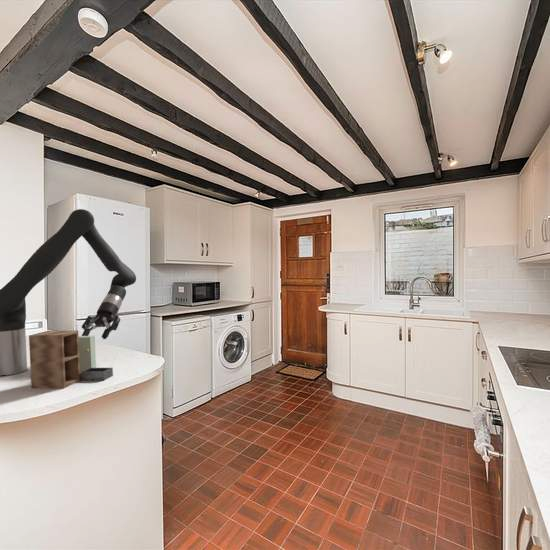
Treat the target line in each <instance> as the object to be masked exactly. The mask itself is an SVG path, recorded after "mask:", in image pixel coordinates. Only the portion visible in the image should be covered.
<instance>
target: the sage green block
mask: <svg viewBox="0 0 550 550" xmlns="http://www.w3.org/2000/svg"><path fill="white" fill-rule="evenodd" d="M79 357H80V373H81V372H83V371H85V370H87V369H89V368H97V361H96V357H97V356H96V337H95V335H88V336H82V335H79Z"/></svg>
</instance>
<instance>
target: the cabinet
mask: <svg viewBox="0 0 550 550" xmlns="http://www.w3.org/2000/svg"><path fill="white" fill-rule="evenodd" d="M79 336H80V334H79V330H45V331H42V332H38V333H33V334H31V335H30V334H29V335H28V342H29V343H28V345H29V363H30V383H31V384H30V385H31V386H30V387H31V389H65V388H67V387H69V386H71V385H74V384H76V383H78V382H79V381H80V375H79V374H80V357H79Z"/></svg>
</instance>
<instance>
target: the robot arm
mask: <svg viewBox="0 0 550 550" xmlns="http://www.w3.org/2000/svg"><path fill="white" fill-rule="evenodd" d="M94 217H95V216H94V215H93V213H91V212H90V211H89V210H87V209H80V208H79V209H78V208H77V209H75V210H74V211H72V212H71V213H70V215H69V216H68V218H67V219H66V221H65V222H64V224H63V225H62V226H61V227H60V229H58V230H57V232H56V233H54V234H53V235H52V236H50V237H49V238H48V239H47V240H46V241H45V242H44V243H43V244H41V245H40V246H39V248H38V249H36V250H35V252H33V254H32V255H31V256H29V257H30V258H29V259H28V260H27V261H26V262H25V263H24V264H23V265H22V267H21V268H20V269H19V271H17V273H16V275H14V277H13V278H11V280H9V281H8V282H7V283H6V284H5V285H4V286H3V287H2V288H0V375H6V376H12V374H13V375H17V374H21V373H24V372H26V371H27V370H28V357H27V356H28V355H27V354H28V353H27V338H26V335H27V334H26V320H27V310H26V309H27V308H26V307H27V303H26V302H27V301H26V297H27V296H28V294H29V293H30V292H31V291H32V290H33V289H34V288H35V287H36V286H37V285H38V284H39V283H40V282H42V281H43V280H44V279H45V278H47V276H49V275H50V274H51V273H52V272H53V271H54V270H55V269H56V268H57V267H58V266H59V264H61V262H63V260H64V258H66V256H67V254H68V253H69V252H70V250H71V249H72V248H73V246H74V244H75V243H76V242H77V241H78V240H79V239H80V238H81V237H82V238H83V239H84V240H85V242H86V243H87V244H88V245H89V246H90V247H91V249H92V251H93V252H94V254H95V255H96V256H97V258H98V259H99V260H100V262H101V263H102V264H103V266H104V267H105V268H106V270H107V271H108V272H115V273H117V274H115V275H114V277H112V279H111V281H110V286H109V291H108V292H107V294H105V295H106V296H105V297H103V298H104V299H103V300H102V302H101V303H100V305H99V307H98V309H97V311H96V315H95V316H91V315H89V316H87V318H86V319H85V321H84V322H83V323H82V325H81V329H82V330H83V332H82V334H81V336H90V334H91V331H93V330H96V329H97V328H105V327H106V328H105V329H104V330H103V333H102V335H101V339H102V340H106V339H108V338H109V335H110V334H111V332H112V331H116V330H118V327H119V324H120V322H121V318H120V317H119V315H118V312H119V310H121V309H120V308H121V307H122V303H123V301H124V299H125V297H126V294H127V290H126V287H129V286H131V285H133V284H135V283H136V281H137V276H136V274H135V272H134V271H133V270H132V269H131V268H130V267H128V265H127V264H125V263H124V262H123V261H121V259H120V258H119V256H118V255H117V253H116V252H115V250H114V249H113V248H112V247H111V246H110V245H109V244H108V242H106V240H105V239H104V238H103V236H102V235H101V234H100V232H99V231H98V230H97V227H96V226H95V218H94Z"/></svg>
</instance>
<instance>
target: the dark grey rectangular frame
mask: <svg viewBox="0 0 550 550" xmlns="http://www.w3.org/2000/svg"><path fill="white" fill-rule="evenodd" d="M113 368H114V367H96V368H89V369H87V370H85V371H83V372H81V373H80V374H79V375H80V381H106V380H108V379H109V378H111V377H113V376H114V372H113V371H114V370H113Z"/></svg>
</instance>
